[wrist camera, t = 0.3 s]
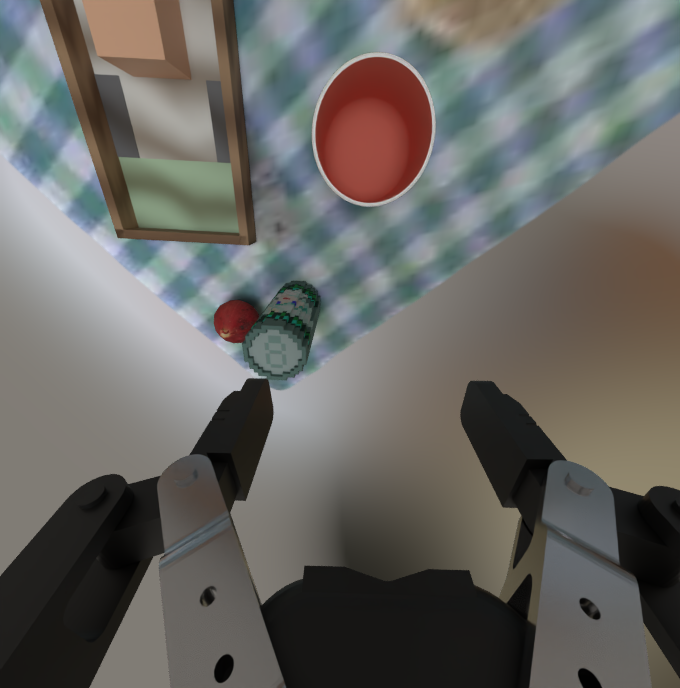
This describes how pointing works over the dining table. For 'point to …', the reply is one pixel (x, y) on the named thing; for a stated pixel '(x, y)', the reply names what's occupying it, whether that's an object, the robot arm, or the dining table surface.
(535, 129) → the dining table surface
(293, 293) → the can
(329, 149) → the cup
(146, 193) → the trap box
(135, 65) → the block
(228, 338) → the red oval fruit
